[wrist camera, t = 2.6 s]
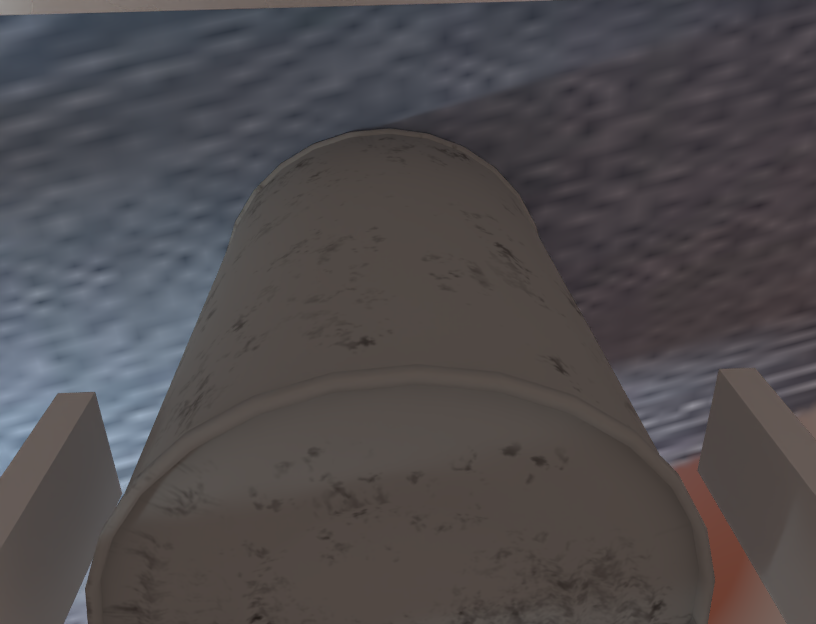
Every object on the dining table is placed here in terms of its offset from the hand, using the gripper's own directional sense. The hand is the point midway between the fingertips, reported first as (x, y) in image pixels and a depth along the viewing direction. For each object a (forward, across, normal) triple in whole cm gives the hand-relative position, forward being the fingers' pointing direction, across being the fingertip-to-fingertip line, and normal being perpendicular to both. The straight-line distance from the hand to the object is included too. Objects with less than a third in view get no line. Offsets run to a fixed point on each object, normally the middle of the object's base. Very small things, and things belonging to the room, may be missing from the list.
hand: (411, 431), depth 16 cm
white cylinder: (+7, 0, 0) cm, 7 cm away
